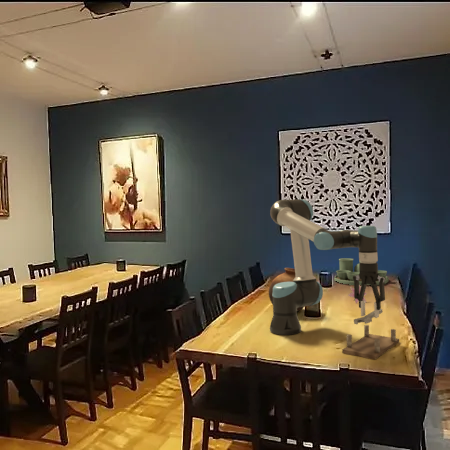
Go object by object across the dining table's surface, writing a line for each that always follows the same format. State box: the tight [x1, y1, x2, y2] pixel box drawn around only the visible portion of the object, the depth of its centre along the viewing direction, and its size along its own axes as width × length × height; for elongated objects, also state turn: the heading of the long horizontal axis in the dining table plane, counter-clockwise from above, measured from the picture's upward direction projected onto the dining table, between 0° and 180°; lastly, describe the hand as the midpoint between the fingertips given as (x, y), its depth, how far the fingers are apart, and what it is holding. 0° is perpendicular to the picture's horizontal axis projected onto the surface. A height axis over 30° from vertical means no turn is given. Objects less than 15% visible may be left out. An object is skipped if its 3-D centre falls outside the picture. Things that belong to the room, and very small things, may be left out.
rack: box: [341, 324, 400, 360], centre depth 197 cm, size 14×27×6 cm, turn 140°
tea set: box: [333, 257, 390, 286], centre depth 353 cm, size 40×40×16 cm
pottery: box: [268, 267, 305, 312], centre depth 265 cm, size 23×23×25 cm
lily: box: [347, 285, 368, 304], centre depth 285 cm, size 12×12×10 cm
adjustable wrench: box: [353, 308, 383, 325], centre depth 197 cm, size 25×6×2 cm, turn 138°
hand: (369, 316), depth 196 cm, fingers closed on adjustable wrench, 5 cm apart
